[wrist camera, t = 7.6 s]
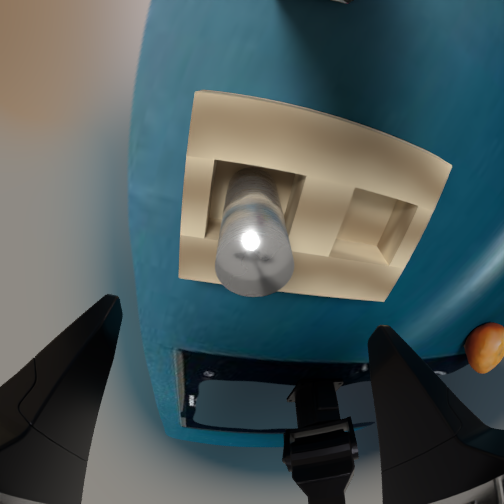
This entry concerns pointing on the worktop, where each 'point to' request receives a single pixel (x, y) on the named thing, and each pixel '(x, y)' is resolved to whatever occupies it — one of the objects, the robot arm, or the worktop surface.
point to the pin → (253, 237)
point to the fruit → (485, 347)
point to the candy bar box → (343, 1)
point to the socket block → (310, 192)
